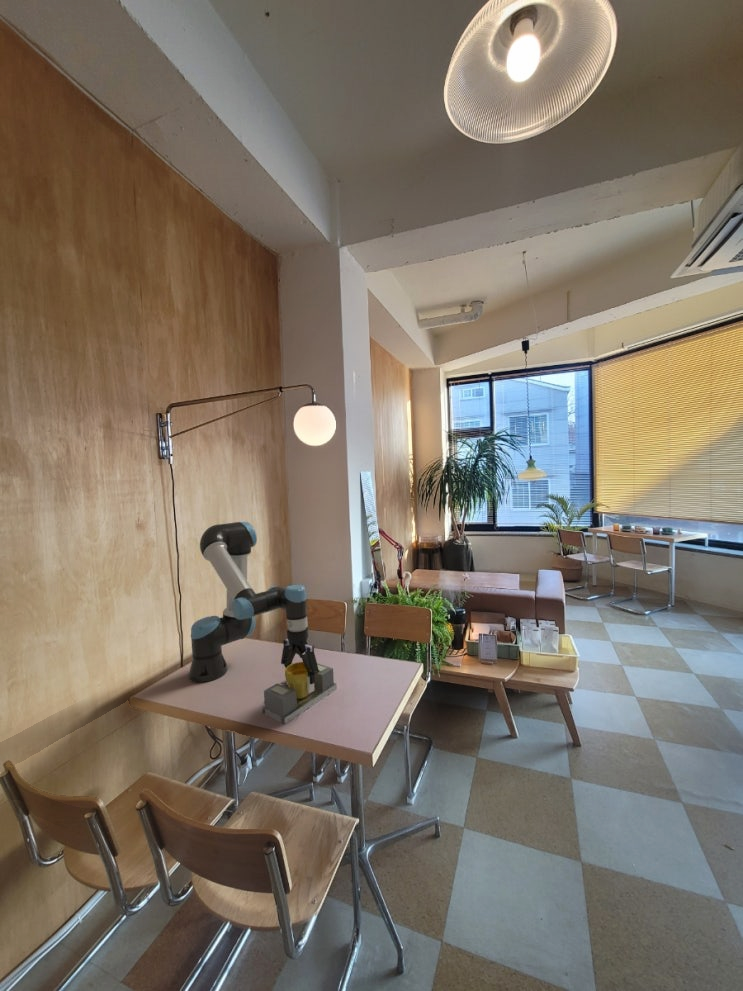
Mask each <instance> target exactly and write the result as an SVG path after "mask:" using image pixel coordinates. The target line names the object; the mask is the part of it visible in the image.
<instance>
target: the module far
mask: <svg viewBox="0 0 743 991" xmlns="http://www.w3.org/2000/svg"><path fill="white" fill-rule="evenodd" d="M317 665H318V669H319V673H317V674H315V683H314V688H317V689H320V690H325V689H326V688H328V687H329V686H331V685H332V684H334V683H335V680H334V678H335V677H334V668H333V667H329V666H327V665H323V664H321V663H318V662H317Z"/></svg>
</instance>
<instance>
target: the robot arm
mask: <svg viewBox="0 0 743 991" xmlns="http://www.w3.org/2000/svg"><path fill="white" fill-rule="evenodd" d="M257 541H258V538H257V532H256V530H255V528H254V526H253V525H252V524H251V523H250V522H248V521H236V522H229V523H222V524H220V523H219V524H215V525H214V524H213V525H212V526H209V527H208V528H207V529H206V530H205V531H204V532H203V533H202V535H201V538H200V541H199V549H200V553H201V554H202V557H203V559H204V560H206V561H209V562H210V564H211V566H212V567H213V569H214V570H215V572H216V574H217V576H218V577H219V578H220V580H221V582H222V583H223V585H224V587H225V588H226V607H225V608H224V609H223V611H222V616H221V617H219V616H218V615H210V616H205V617H203V618H200V619H198V620H196V621H195V622H194V623H193V624H192V625H191V627H190V628H191V629H190V640H191V651H192V652H191V653H192V655H191V656H192V659H191V660H192V661H191V663H190V664H191V665H190V667H189V671H188V678H190V679H189V680H190V681H191V680H192V681H191V682H193V681H195V682H194V683H205V681H207V682H211V680H212V681H214V680H217V679H219V678H221V677H223V676H224V675H225V674H226V673H227V672H228V664H227V661H226V660H225V657H224V655H223V652H222V646H224V645H227V644H230V643H233V642H236V641H239V640H243V639H245V638H248V637H250V636H251V635H252V634H253V633H254V630H255V629H256V628H255V627H256V619H255V616H258V615H262V614H265V613H269V612H272V611H276V610H279V609H281V610H284V611H285V617H286V629H287V630H286V635H287V636H286V637H287V638H285V639H283V641H282V642H283V643H282V644H283V648H282V652H281V653H282V654H281V660H280V663H281V665H283V667H285V669H286V667H287V666H289V665H290V664H293V661H294V658H295V656H296V655H298V656H299V658H300V659H301V660H302V662H303V663H304V665H305V668H306V670H307V672H308V675H307V691H308V694H310V693H311V692H313V691H314V683H315V674H317V673H319V669H318V665H317V663H318V662H317V658H316V655H315V646H314V645H313V644H311V645H310V644H308V641H307V640H308V638H309V628H308V626H309V624H308V609H307V608H308V605H307V599H308V598H307V592H306V586H304V585H303V584H293V585H288V586H286V587H283V586H280V585H278V586H277V585H273V586H270V587H269V588H268V589H267V590H266V591H261V592H257V593H256V592H255V591H254V589H253V588H252V586H251V584H250V583H249V581H248V556H249V555H251V553H252V548H254V547H255V546H256V544H257ZM286 685H287V686H289V684H288V682H287V684H286Z"/></svg>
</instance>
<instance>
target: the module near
mask: <svg viewBox="0 0 743 991" xmlns="http://www.w3.org/2000/svg"><path fill="white" fill-rule="evenodd" d="M263 697H264V698H263V700H264V702H263V703H264V706H265V708H267V709H269V710H271V711H273V712H275V713H277V714H279V715H281V716H285V715H287V714H288V713H290V712H291V711H293V710H294V709H296V708H297V695H296V691H295V690H293V689H290V688H289V686H288V687H287V686H285V685H282V684H281V683H275V684H273V685H271V686H270V687H268V688H266V689H264V690H263Z"/></svg>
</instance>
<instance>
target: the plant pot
mask: <svg viewBox="0 0 743 991" xmlns="http://www.w3.org/2000/svg"><path fill="white" fill-rule="evenodd" d="M307 675H308V672H307V670H306V668H305V665H304V663H303V661H298V662H296V661H295V662H292V664H290V665H289V666H287V667H286V669H285V670H284V676H285V677H284V678H285V682H286V681H287V682H288V684H289V685H288V688H290V689H293V690H295V691H296V695H297V698H304V697H306V696H307V695H308V691H307Z"/></svg>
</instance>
